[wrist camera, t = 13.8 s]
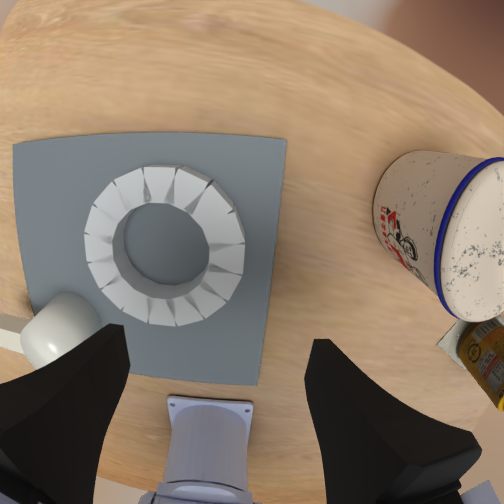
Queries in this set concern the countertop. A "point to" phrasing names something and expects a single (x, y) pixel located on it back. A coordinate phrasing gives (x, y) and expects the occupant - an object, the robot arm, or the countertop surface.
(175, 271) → the stand
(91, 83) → the countertop surface
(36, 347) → the cream post on cylinder
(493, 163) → the teacup with lid
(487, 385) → the condiment
